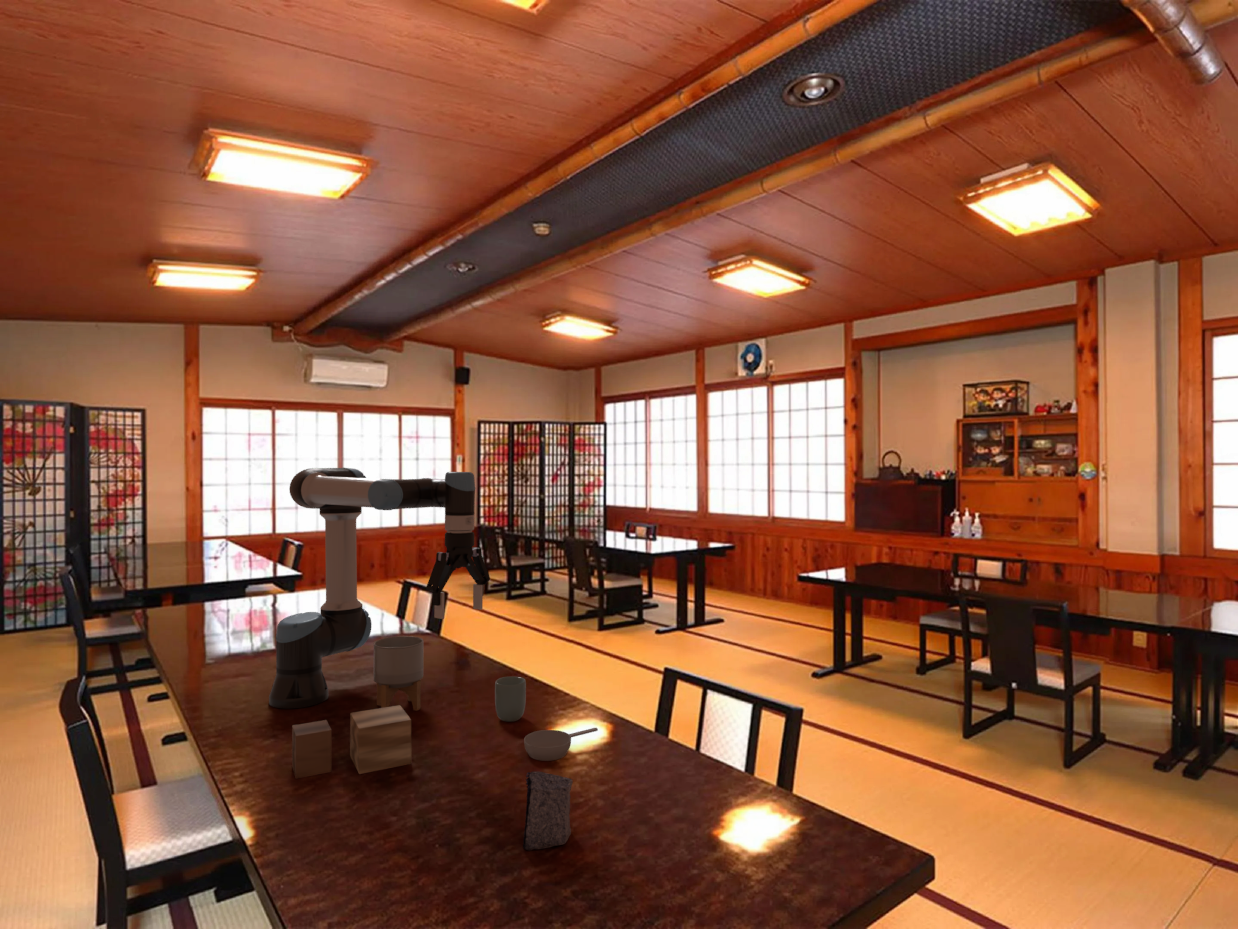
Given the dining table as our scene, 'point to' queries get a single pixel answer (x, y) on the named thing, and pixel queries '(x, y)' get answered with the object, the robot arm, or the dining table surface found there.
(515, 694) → the cup
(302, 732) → the walnut block
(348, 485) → the robot arm
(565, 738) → the saucepan
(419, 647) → the planter
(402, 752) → the tower lower
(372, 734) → the tower upper
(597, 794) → the dining table surface
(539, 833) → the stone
